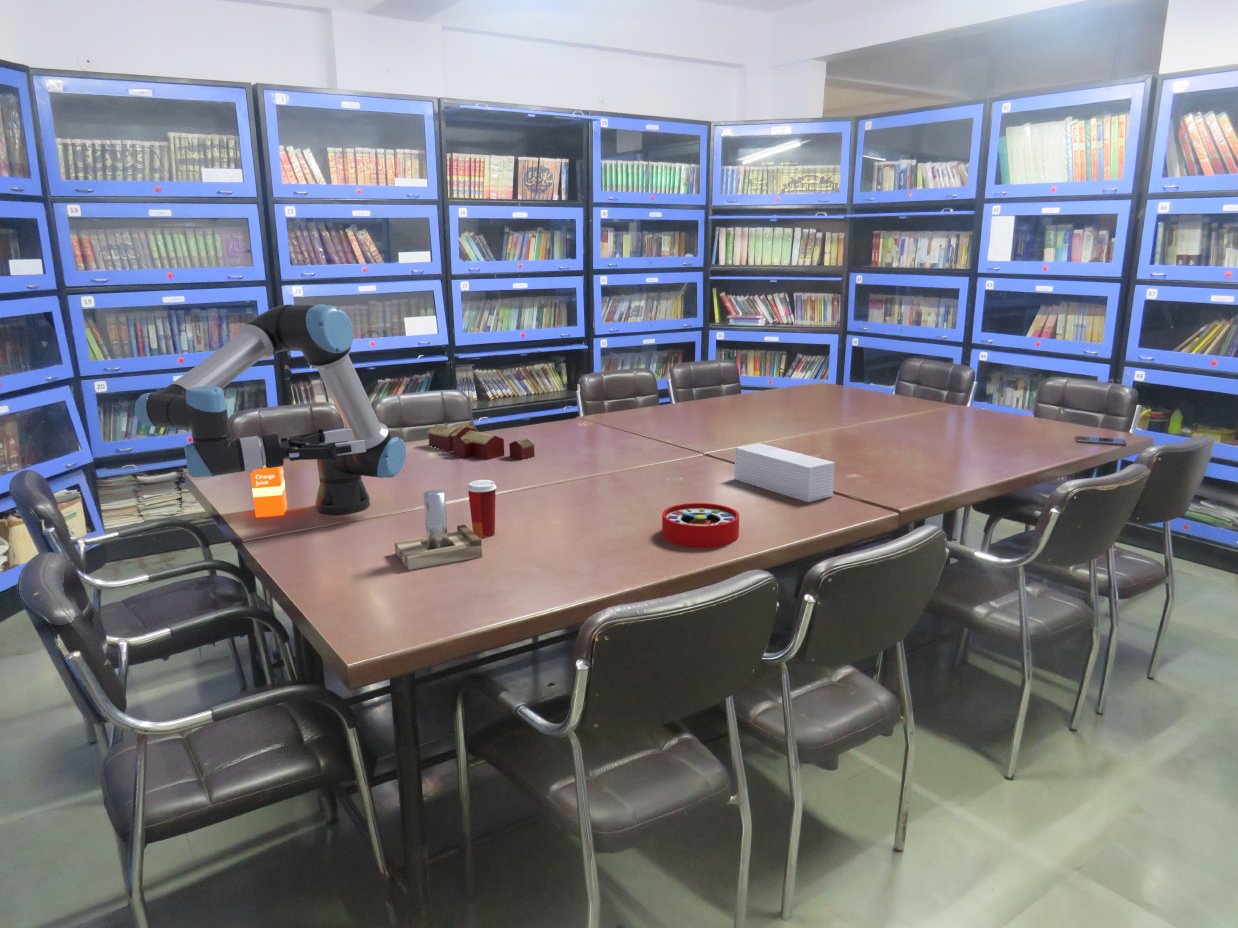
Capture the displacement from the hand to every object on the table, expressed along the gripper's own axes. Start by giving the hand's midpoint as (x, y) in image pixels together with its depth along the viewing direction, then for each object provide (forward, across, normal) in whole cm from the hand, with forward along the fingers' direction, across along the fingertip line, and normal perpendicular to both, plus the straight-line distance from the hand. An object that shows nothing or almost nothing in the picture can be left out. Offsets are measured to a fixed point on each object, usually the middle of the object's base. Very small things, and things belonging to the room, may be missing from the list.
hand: (358, 439), depth 197 cm
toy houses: (+61, -91, -32) cm, 115 cm away
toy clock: (+79, +28, -31) cm, 89 cm away
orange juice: (-17, -52, -30) cm, 62 cm away
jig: (+15, +8, -30) cm, 34 cm away
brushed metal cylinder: (+15, +8, -30) cm, 34 cm away
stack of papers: (+126, +4, -32) cm, 130 cm away
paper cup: (+30, -1, -30) cm, 42 cm away
